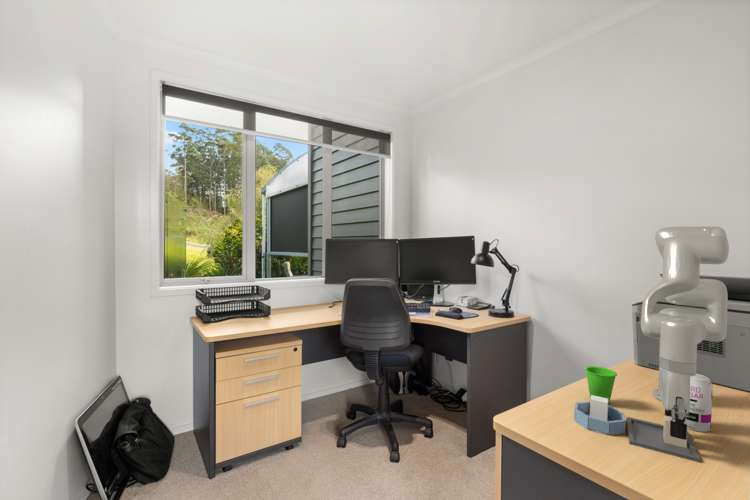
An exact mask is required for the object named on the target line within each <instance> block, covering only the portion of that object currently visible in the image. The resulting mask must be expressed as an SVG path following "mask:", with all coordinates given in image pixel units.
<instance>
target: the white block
mask: <svg viewBox="0 0 750 500" xmlns="http://www.w3.org/2000/svg"><path fill="white" fill-rule="evenodd" d="M589 400H590V417H593V418H597V419H601V420H605V421H607V418H608V406H609V405H608V399H607V398H603V397H598V396H594V395H591V398H590V397H589Z"/></svg>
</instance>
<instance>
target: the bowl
mask: <svg viewBox="0 0 750 500" xmlns="http://www.w3.org/2000/svg"><path fill="white" fill-rule="evenodd" d="M573 411H574V412H573V413H574V416H573V417H574V421H575V423H577V424H578V425H579V426H581V427H583V428H585V429H587V430H589V431H592V432H594V433H597V434H602V435H606V436H607V435H609V436H618V435H622V434H623V433H626V416H625V413H624V412H622V411H621V410H618V409H617V408H614V407H613V406H611V405H608V418H607V421H605V420H601V419H597V418H593V417H590V401H589V400H588V401H578V402H575V404H574V410H573Z"/></svg>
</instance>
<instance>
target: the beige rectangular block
mask: <svg viewBox="0 0 750 500" xmlns="http://www.w3.org/2000/svg"><path fill="white" fill-rule="evenodd" d="M670 420H672V417H670V416H665V414H664V415H663V424H662V425H663V438H664V441H665V443H668V444H672V445H676V446H680V447H684V448H687V439H686V440H684V439H680V438H675V437H672V436H670Z"/></svg>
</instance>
